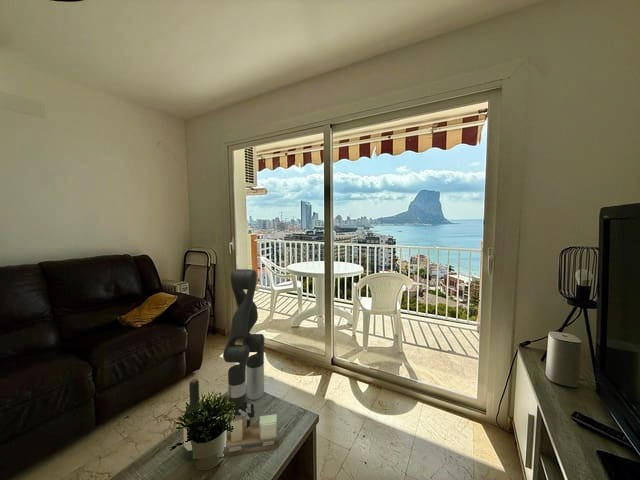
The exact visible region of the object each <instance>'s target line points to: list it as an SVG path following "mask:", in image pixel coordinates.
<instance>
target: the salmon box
mask: <svg viewBox="0 0 640 480" xmlns="http://www.w3.org/2000/svg"><path fill="white" fill-rule="evenodd" d="M231 425H232V426H233V428H234V429H233V432H231V442H235V441H241V440H242V437H243V433H244V426H245V417H244V416H243V415H242V414H241V415H240V416H238V415H237V416H235V419H234V420H233V421H232V422H231V421H230V426H231Z"/></svg>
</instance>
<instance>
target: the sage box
mask: <svg viewBox="0 0 640 480" xmlns="http://www.w3.org/2000/svg"><path fill="white" fill-rule="evenodd" d="M277 419H278V418H277V413H274V414H268V415H261V416H259V424H260V441H264V440H270V439H276V438H277V426H278V421H277Z"/></svg>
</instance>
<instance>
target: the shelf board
mask: <svg viewBox="0 0 640 480" xmlns="http://www.w3.org/2000/svg"><path fill="white" fill-rule="evenodd" d="M278 426H279V425H277V438H276V439H270V440H264V441H260V423H256V424H250V426H249V427H248V428H247V425H244V433H243V437H242V440H241V441H235V442H231V433H230V432H228V433H227V441H226V447H224V451H223V454H224V457H223V458H227V457H234V456H240V455H241V456H242V455H246V454H250V453H257V452H263V451H267V450H269V451H270V450H276V449H279V431H278Z"/></svg>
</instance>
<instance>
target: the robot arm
mask: <svg viewBox="0 0 640 480" xmlns="http://www.w3.org/2000/svg"><path fill="white" fill-rule="evenodd" d="M257 282H258V274H257V271H256V270H255V269H252V268H251V269H248V268H247V269H245V268H244V269H243V268H242V269H241V268H237V269H234V270H233V271H231V274H230V284H231V285H230V286H231V289H232V291H233V295H234V299H235V303H236V307H237V308H236V311H235V312H234V313H233V316H232V320H231V327H230V332H229V336H228V339H227V342H226V344H225V346H224V347H225V348H224V349H223V353H222V358H223V360H224V362H225V363H233V364H234V363H235V364H234V365H232V366H230V368H229V369H228V372H227V391H226V392H227V403H228V402H235V407H234V415H235V416H237V415H238V416H240V415H241V414H242V415H243V416H244V418H245V419H246V426H247V428H248V427H249V426H250V425H251V419H253V418H255V401H254V400H258V399H260V398H262V397H264V395H265V361H264V360H265V336H264V333H250V332H251V330H252V328H253V327H254V326H255V325H256V323H257V321H258V319H259V315H258V314H259V313H258V307H257V305H256V303H255V301H254V296H255V292H256V287H257V284H258V283H257ZM245 290H247V291H246V292H245ZM238 340H242V344H236V342H237V341H238ZM250 353H254V354H251V355H250ZM237 363H238V364H237ZM247 399H249V400H251V401H250V402H247ZM247 408H249V409H250V411H249V410H248V409H247Z"/></svg>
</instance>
